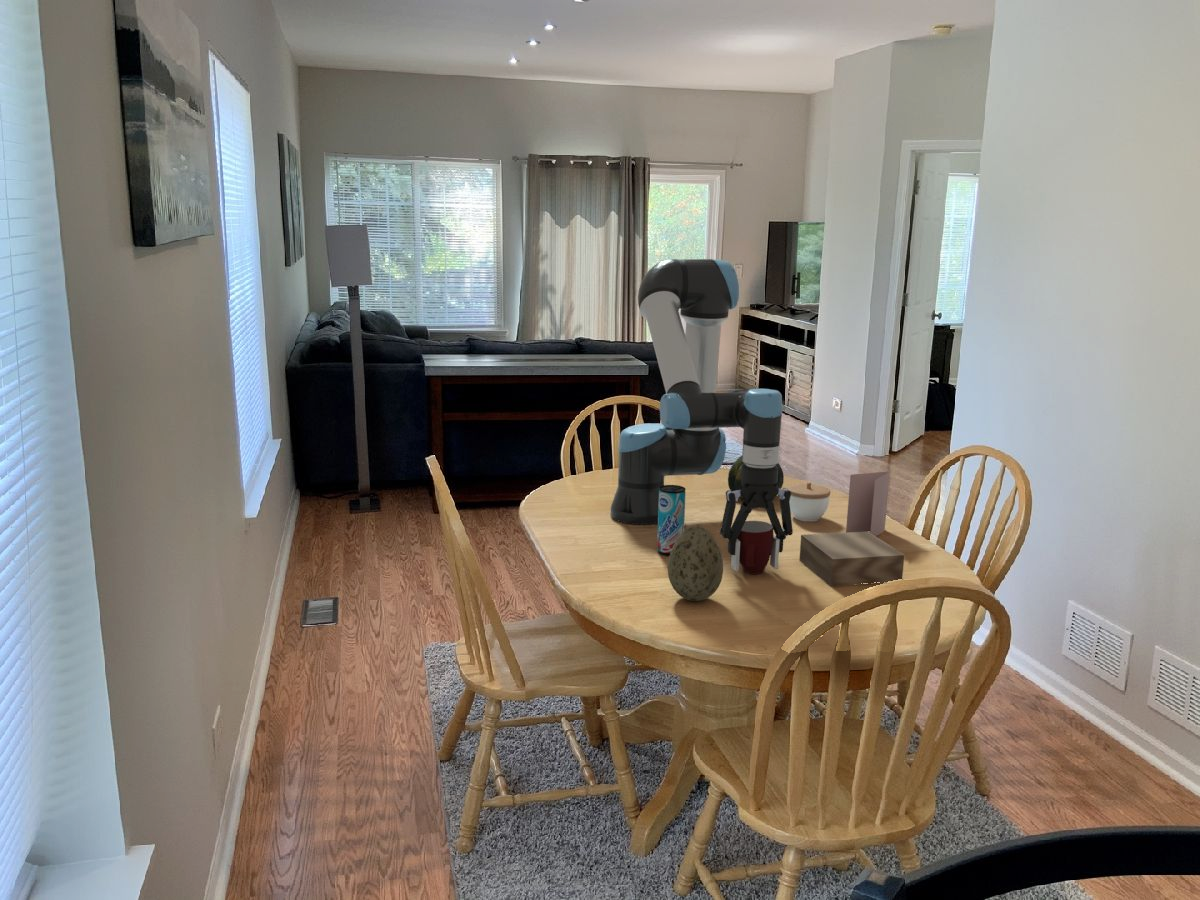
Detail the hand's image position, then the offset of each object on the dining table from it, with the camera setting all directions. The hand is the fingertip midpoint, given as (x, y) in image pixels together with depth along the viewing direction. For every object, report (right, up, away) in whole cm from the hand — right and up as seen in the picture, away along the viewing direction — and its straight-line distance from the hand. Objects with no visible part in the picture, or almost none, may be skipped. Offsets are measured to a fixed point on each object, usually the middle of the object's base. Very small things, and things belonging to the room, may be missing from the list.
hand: (754, 567), depth 198 cm
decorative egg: (-14, -5, -14) cm, 21 cm away
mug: (0, -1, 0) cm, 1 cm away
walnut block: (+21, -1, +3) cm, 21 cm away
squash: (+10, +12, +59) cm, 61 cm away
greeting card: (+33, +4, +27) cm, 43 cm away
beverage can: (-17, +2, +13) cm, 21 cm away
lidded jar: (+20, +7, +40) cm, 46 cm away
